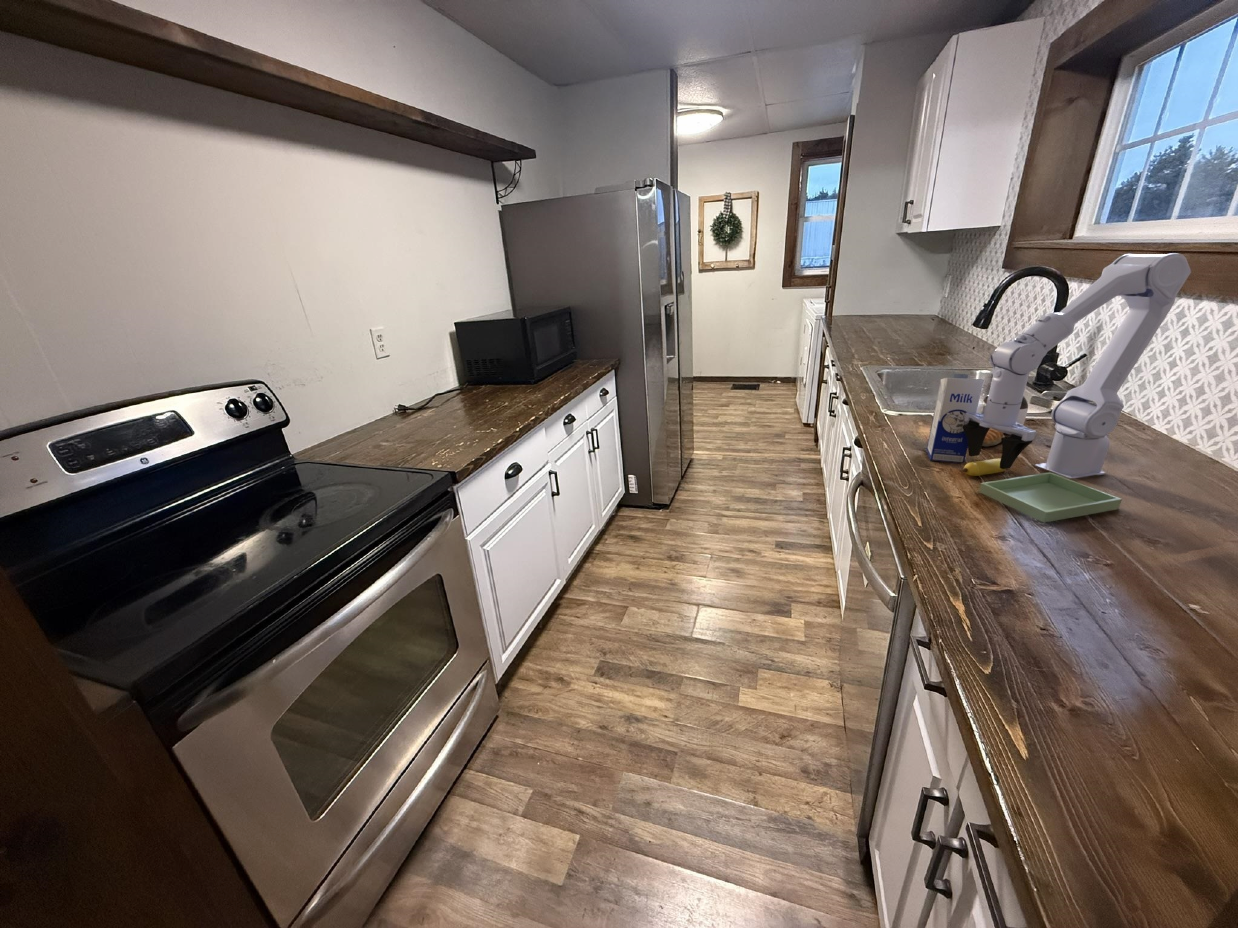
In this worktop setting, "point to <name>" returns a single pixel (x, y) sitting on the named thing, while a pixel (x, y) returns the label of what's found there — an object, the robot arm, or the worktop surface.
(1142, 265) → the robot arm
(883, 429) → the worktop surface
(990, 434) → the pastry
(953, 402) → the milk carton
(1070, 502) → the tray
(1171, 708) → the worktop surface
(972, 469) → the banana
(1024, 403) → the spread jar
